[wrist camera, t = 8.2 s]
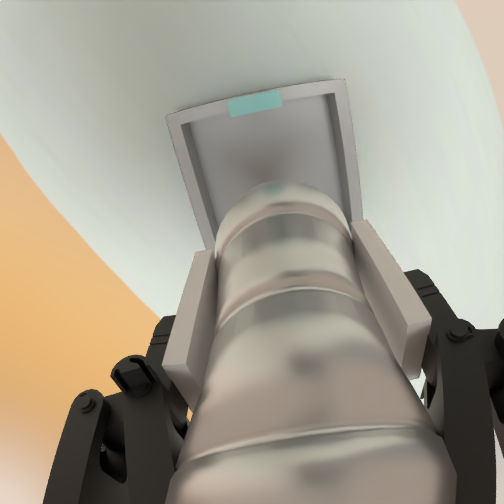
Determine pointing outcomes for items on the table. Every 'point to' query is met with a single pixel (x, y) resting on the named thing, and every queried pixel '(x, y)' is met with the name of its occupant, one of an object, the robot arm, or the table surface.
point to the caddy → (267, 148)
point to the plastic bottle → (302, 373)
